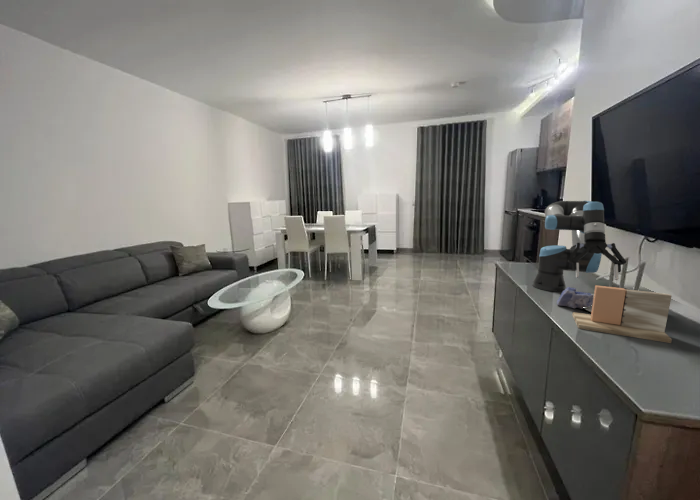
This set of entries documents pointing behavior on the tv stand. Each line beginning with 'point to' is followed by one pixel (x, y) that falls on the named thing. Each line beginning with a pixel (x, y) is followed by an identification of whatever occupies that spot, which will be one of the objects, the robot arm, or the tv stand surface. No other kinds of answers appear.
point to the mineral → (575, 298)
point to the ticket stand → (635, 317)
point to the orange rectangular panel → (608, 304)
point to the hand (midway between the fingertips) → (596, 278)
